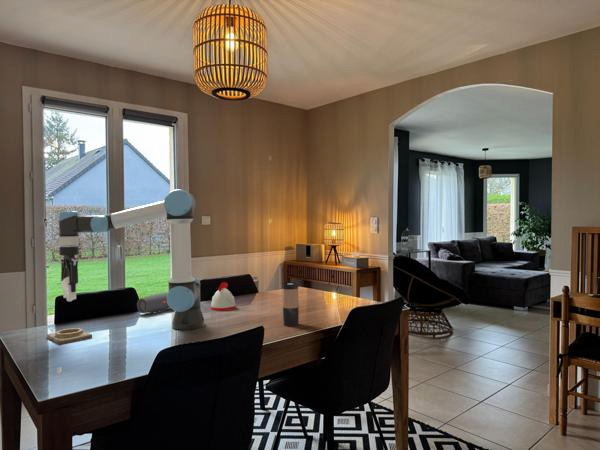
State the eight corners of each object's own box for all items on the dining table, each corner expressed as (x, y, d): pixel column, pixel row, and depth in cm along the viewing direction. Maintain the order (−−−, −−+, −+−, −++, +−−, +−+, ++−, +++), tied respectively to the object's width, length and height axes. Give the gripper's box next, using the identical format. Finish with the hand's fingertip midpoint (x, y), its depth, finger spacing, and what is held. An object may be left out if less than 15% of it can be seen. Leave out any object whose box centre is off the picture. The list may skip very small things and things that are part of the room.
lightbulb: (65, 300, 190) (65, 275, 190) (80, 300, 190) (80, 275, 190) (58, 303, 183) (58, 277, 183) (73, 302, 184) (73, 277, 184)
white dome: (240, 307, 247) (239, 281, 247) (225, 311, 235) (225, 284, 235) (221, 305, 254) (220, 280, 254) (205, 309, 242) (205, 283, 242)
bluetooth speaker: (147, 316, 227) (147, 297, 227) (136, 314, 232) (136, 296, 231) (180, 308, 246) (180, 291, 246) (169, 307, 251) (169, 290, 251)
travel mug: (301, 323, 206) (300, 282, 206) (295, 327, 199) (295, 284, 199) (286, 322, 209) (285, 281, 208) (280, 326, 202) (280, 284, 201)
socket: (92, 337, 186) (92, 331, 186) (59, 344, 176) (59, 337, 176) (78, 331, 197) (78, 325, 197) (46, 337, 187) (46, 331, 187)
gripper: (86, 246, 183) (87, 299, 183) (70, 244, 196) (71, 294, 196) (67, 247, 177) (68, 302, 178) (52, 245, 190) (53, 297, 191)
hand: (69, 298), depth 187 cm, fingers closed on lightbulb, 6 cm apart
